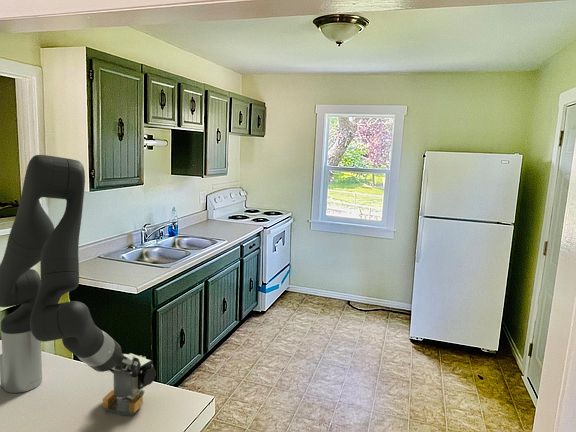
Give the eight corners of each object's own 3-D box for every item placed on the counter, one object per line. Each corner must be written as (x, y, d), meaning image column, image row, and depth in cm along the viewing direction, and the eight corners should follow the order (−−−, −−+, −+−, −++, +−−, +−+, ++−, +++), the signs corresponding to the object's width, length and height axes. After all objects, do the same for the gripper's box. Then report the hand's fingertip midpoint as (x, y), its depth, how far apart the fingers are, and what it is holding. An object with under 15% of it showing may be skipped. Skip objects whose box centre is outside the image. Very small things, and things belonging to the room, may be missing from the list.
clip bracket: (102, 411, 107) (102, 399, 107) (112, 401, 112) (112, 389, 111) (133, 417, 106) (133, 404, 105) (143, 406, 110) (143, 394, 110)
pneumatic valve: (143, 407, 110) (143, 365, 108) (112, 394, 115) (112, 354, 113) (158, 397, 115) (158, 357, 113) (128, 385, 120) (128, 346, 118)
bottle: (109, 396, 106) (109, 359, 105) (120, 386, 111) (120, 351, 109) (126, 398, 105) (126, 361, 104) (136, 389, 110) (136, 353, 109)
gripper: (132, 337, 97) (157, 361, 110) (77, 330, 99) (108, 355, 113) (119, 370, 93) (147, 391, 106) (62, 361, 95) (96, 383, 108)
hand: (127, 372), depth 109 cm, fingers closed on bottle, 4 cm apart
